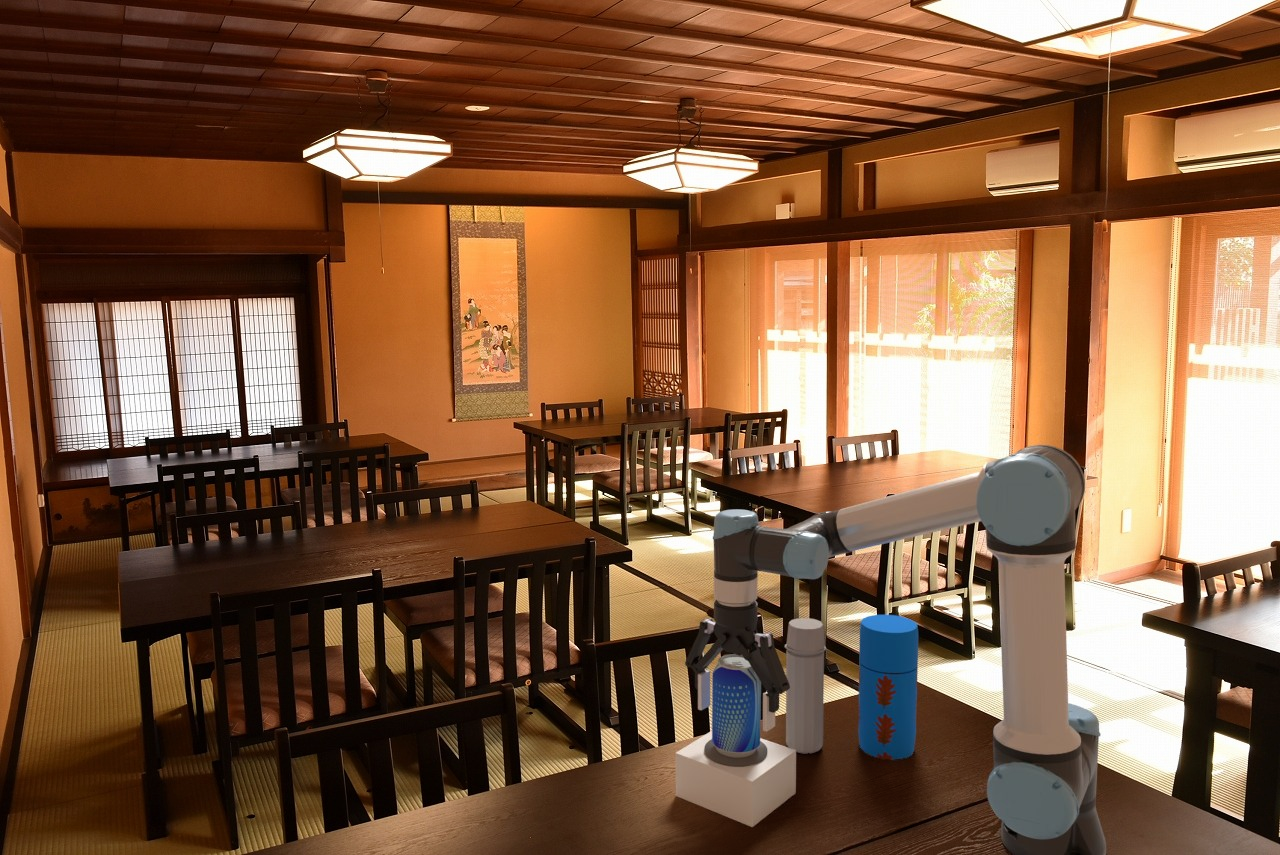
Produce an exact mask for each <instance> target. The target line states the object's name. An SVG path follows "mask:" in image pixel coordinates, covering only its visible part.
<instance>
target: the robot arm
mask: <svg viewBox="0 0 1280 855" xmlns="http://www.w3.org/2000/svg"><path fill="white" fill-rule="evenodd" d="M1085 491H1086V479H1085V474H1084V471H1083V469H1082V467H1081V465H1080V463H1078V461H1077V460H1076V459H1075V458H1074V456H1073V455H1072V454H1070V453H1068V451H1065V450H1064V449H1062V448H1059V447H1057V446H1054V445H1047V444H1035V445H1030V446H1029V445H1028V446H1026V447H1024V448H1022V449H1019V450H1018V451H1016V452H1014V453H1012V454H1010V455H1007V456H1005V457H1003V458H999V459H997V460H993V461H988V462H986V463H984V465H983V466H982V469H981V470H980V471H977V472H973V473H970V474H966V475H965V474H964V475H962V476H959V477H954V478H952V479H948V480H944V481H939V482H936V483H933V484H929V485H925V486H921V487H919V488H914V489H909V490H907V491H903V492H900V493H896V494H892V495H889V496H884V497H881V498H877V499H874V500H873V499H872V500H869V501H866V502H862V503H859V504H855V505H851V506H847V507H844V508H841V509H837V510H833V511H832V510H831V511H823V512H819V513H816V514H814V515H812V516H811V517H809V518H807V519H806V520H804V521H801V522H798V523H797V524H794V525H792V526H789V527H788V528H777V527H776V528H775V527H768V526H763V525H760V524H759V516H758V515H757V513H756V512H755V511H752V510H747V509H737V508H736V509H726V510H722V511H719V512H718V513H717V514H716V515H715V516H714V519H713V520H714V521H713V522H714V523H713V536H712V540H713V566H714V567H713V568H714V569H713V598H714V601H713V618H711V617H708V618H706V619H704V620H702V621H700V622H699V629H698V634H697V635H696V638H695V640H694V642H693V644H692V646H691V649H690V650H689V654H688V655H687V658H686V659H685V662H684V664H685V667H686V668H691V669H692V670H693V672H694V687H695V690H697V710H699V711H703V710H705V709H706V708H709V707H710V706H711V670H709V669H708V668H709V666H710V665H711V663H712V662H713V661H714V660H715V659H716V658H717V657H718V655H719V654H720V653H721V652H723V650H724V651H725V653H733V654H736V655H742V656H743V657H744V659H745V660H747V661H748V662H749V663H750V665H751V667H752V668H753V670H754V672H755V673H756V675H757V676H758V678H759V680H760V681H761V685H762V686H763V687H764V689H765V692H763V693H762V731H763V732H768V731H770V730H772V729H773V728H774V727H776V712H777V711H779V709H780V695H782V694H784V693H785V692H786V691H787V690H788V689H790V685H789V682H788V680H787V677H786V671H785V670H784V667H783V664H782V662H781V659H780V657H779V655H778V652H777V649H776V647H775V639H774V638H775V637H774V634H773V633H772V632H767V633H759V632H758V630H757V623H758V619H759V618H758V616H759V615H758V613H759V612H758V609H759V608H758V606H759V605H758V604H759V603H758V602H757V601H756V600H757V599H758V586H759V585H758V580H759V579H758V577H759V576H758V573H759V572H761V573H762V572H763V573H769V574H774V575H779V576H780V575H781V576H785V577H790V578H791V577H792V578H793V579H797V580H798V579H799V580H802V579H803V580H804V579H808V580H816V579H817V580H818V579H819V578H820V577H822V576H823V574H824V571H825V570H826V569H827V566H828V563H829V558H832V557H836V556H840V555H844V554H849V553H852V552H854V551H860V550H863V549H867V548H868V549H869V548H872V547H876V546H880V545H884V544H888V543H893V542H897V541H901V540H902V541H903V540H905V539H906V540H907V539H910V538H915V537H920V536H923V535H927V534H932V533H935V532H939V531H946V530H949V529H953V528H959V527H962V526H966V525H971V524H974V523H980V522H981V523H982V524H983V526H984V527H985V541H986V542H985V543H986V549H987V550H988V551H989V552H990V553H991V554H992V555H993V556H994V557H995V558H996V559H997V562H998V584H999V585H998V587H999V589H998V590H999V592H998V593H999V615H1000V622H999V623H1000V647H1001V648H1000V649H1001V670H1002V671H1001V676H1002V678H1001V679H1002V702H1003V703H1002V704H1003V705H1002V708H1003V719H1002V720H1001V721H999V722H998V723H997V724H996V725H994V727H993V733H992V734H993V737H992V739H993V769H992V771H991V772H990V774H989V776H988V780H987V783H986V784H987V786H986V796H987V800H988V801H987V802H988V803H989V805H990V808H991V810H992V812H994V814H995V815H996V817H997V818H998V819H1000V820H1001V826H1000V827H1001V830H1000V833H1001V834H1000V839H1001V842H1002V844H1003V845H1004V847H1005V848H1006V849H1007V850H1008V851H1009V852H1010V853H1011V854H1012V855H1107V840H1106V837H1105V835H1104V831H1103V828H1102V825H1101V822H1100V819H1099V815H1098V811H1097V808H1096V802H1097V801H1096V798H1097V784H1098V783H1097V782H1098V778H1097V777H1098V758H1099V741H1100V740H1099V739H1100V737H1101V732H1100V722H1099V719H1098V717H1097V715H1095V713H1094V712H1092V711H1091V710H1089V709H1087V708H1085V707H1081V706H1079V705H1076V704H1072V703H1069V689H1068V688H1069V687H1068V686H1069V684H1068V679H1069V678H1068V656H1067V655H1068V651H1067V650H1068V649H1067V648H1068V647H1067V646H1068V644H1067V617H1066V616H1067V613H1066V612H1067V611H1066V585H1065V584H1066V579H1065V578H1066V577H1065V574H1066V573H1065V562H1066V559H1067V558H1069V557H1070V556H1071V555H1073V554H1074V553H1075V552H1076V549H1077V546H1076V544H1077V543H1076V535H1077V534H1076V510H1077V508H1079V506H1080V505H1081V503H1082V501H1083V499H1084V495H1085ZM712 633H714V634H715V636H716V638H717V639H716V641H715V642H714V643H713V644H712V645H711V647H710V648H709V649H708V650H707V652H706V653H705V654H704V655H703V653H704V651H705V648H706V646H707V645H708V642H709V640H710V638H711V636H712ZM750 651H751V652H750ZM702 655H703V656H702Z"/></svg>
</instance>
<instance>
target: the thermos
mask: <svg viewBox="0 0 1280 855" xmlns="http://www.w3.org/2000/svg"><path fill="white" fill-rule="evenodd" d="M858 651H859V655H858V656H859V657H858V659H859V660H858V661H859V662H858V664H859V665H858V716H857V717H858V719H857V722H858V723H857V724H858V726H857V730H858V744H859V745H860V746H859V748H861V749H862V750H863V751H864V752H865V753H864V752H863V751H862V750H861V749H860V750H861V751H862V752H863V753H864V754H866V753H868V754H870V755H871V756H870V755H869V756H870V757H872V756H875V757H874V758H876V757H879V758H883V759H882V760H885V759H890V760H889V761H894V760H893V759H901V760H903V759H902V758H905V759H908V758H909V756H910V755H911V756H913V755H914V753H913V752H915V747H916V737H917V713H918V712H917V710H918V708H917V707H918V667H919V666H918V665H919V628H918V624H917V622H916V621H914V620H912V619H910V618H908V617H905V616H899V615H895V614H875V615H874V614H873V615H868V616H866V617H864V618H862V619H861V621H860V625H859V649H858ZM868 754H867V755H868ZM912 754H913V755H912ZM911 756H910V757H911ZM907 757H908V758H907ZM879 758H878V759H879ZM891 759H892V760H891Z"/></svg>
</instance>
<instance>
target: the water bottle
mask: <svg viewBox="0 0 1280 855" xmlns="http://www.w3.org/2000/svg"><path fill="white" fill-rule="evenodd" d="M824 629H825V628H824V624H823V622H822V621H821V620H818V619H815V618H809V617H801V618H795V619H791V620H790V621H789V622H788V627H787V636H786V644H784V648H785V649H786V651H785V653H786V656H785V657H786V659H785V660H786V662H785V668H786V671H785V674H786V677H787V680H788V682H789V685H790V689H788V690H787V691H785V692H786V693H785V744H786V745H787V747H788V748H791V749H794V750H796V753H800V754H804V755H805V754H806V755H807V754H808V753H809V754H813V753H816V752H817V753H818V752H819V751H820V750H821V749H822V747H823V746H824V694H825V693H824V689H825V688H824V686H825V685H824V683H825V682H824V681H825V680H824V678H825V677H824V676H825V675H824V674H825V673H824V672H825V670H824V669H825V651H826V650H827V647H826V642H825V631H824ZM809 754H808V755H809Z"/></svg>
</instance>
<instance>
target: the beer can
mask: <svg viewBox="0 0 1280 855" xmlns="http://www.w3.org/2000/svg"><path fill="white" fill-rule="evenodd" d="M711 678H712V685H711V686H712V694H711V695H712V698H711V700H712V701H711V702H712V703H711V719H712V720H711V721H712V722H711V731H712V743H713V744H714V746H715V747H716V749H717V751H718V752H719V753H721V754H722V755H725V756H728V757H733V758H742V757H747V756H750V755H752V754H753V753H754V752H755V751H756V749H757V748H758V747H759V745H760V738H761V716H762V715H761V713H762V712H761V711H762V709H761V707H762V705H761V704H762V702H761V701H762V700H761V699H762V698H761V697H762V683H761V681H760V680H759V678H758V676H757V675H756V673H755V672H754V670H753V668H752V667H751V665H750V663H749V662H748V661H747V660H745V659H744V657H743V656H742V655H736V654H734V653H733V654H731V653H730V654H724V655H723V656H720V657H719V658H718V660H717V664H716V666H715V667H714V669H713V671H712V677H711Z"/></svg>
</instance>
